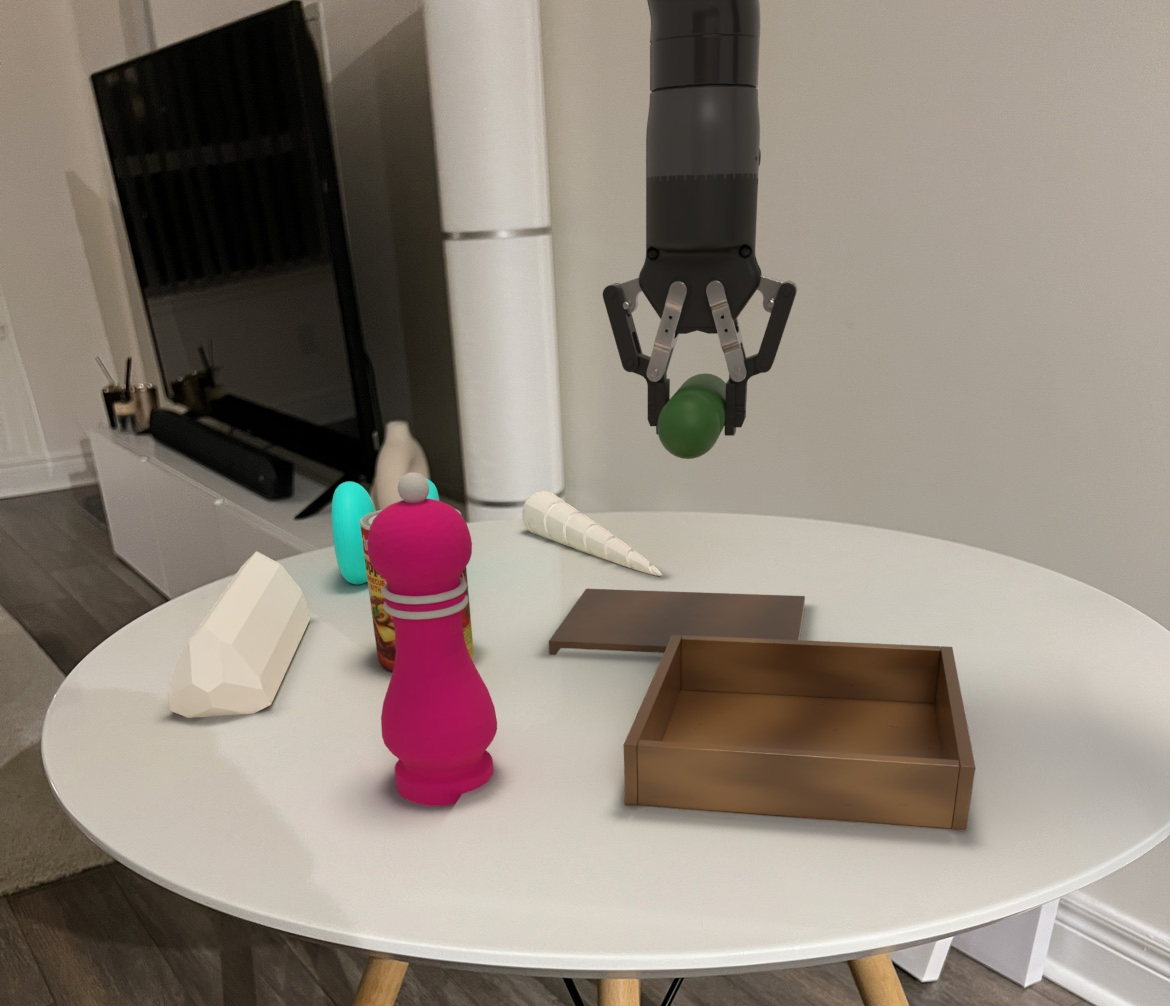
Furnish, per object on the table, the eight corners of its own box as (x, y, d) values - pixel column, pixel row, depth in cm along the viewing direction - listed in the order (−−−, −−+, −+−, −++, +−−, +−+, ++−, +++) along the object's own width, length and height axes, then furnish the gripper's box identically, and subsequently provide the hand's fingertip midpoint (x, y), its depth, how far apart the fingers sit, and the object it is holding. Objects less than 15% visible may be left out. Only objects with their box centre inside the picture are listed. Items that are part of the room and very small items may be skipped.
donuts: (442, 592, 107) (432, 489, 103) (339, 598, 107) (324, 495, 102) (447, 563, 116) (437, 467, 111) (351, 568, 116) (338, 472, 111)
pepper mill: (424, 755, 75) (388, 457, 66) (520, 769, 73) (497, 461, 63) (368, 804, 69) (321, 483, 60) (471, 821, 67) (438, 490, 58)
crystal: (284, 674, 79) (329, 575, 100) (186, 631, 77) (253, 540, 98) (247, 757, 82) (299, 644, 103) (152, 718, 80) (224, 611, 101)
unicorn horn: (629, 587, 106) (628, 538, 104) (520, 535, 125) (517, 493, 123) (670, 578, 108) (670, 530, 106) (557, 529, 127) (555, 487, 125)
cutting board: (804, 611, 98) (805, 595, 98) (795, 670, 86) (796, 652, 86) (586, 603, 103) (585, 588, 102) (549, 658, 91) (548, 641, 90)
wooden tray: (944, 712, 78) (952, 646, 76) (964, 845, 62) (975, 766, 60) (671, 697, 82) (671, 634, 80) (624, 818, 66) (623, 744, 64)
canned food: (358, 667, 90) (338, 522, 85) (424, 638, 96) (409, 500, 90) (428, 686, 86) (412, 534, 81) (493, 655, 92) (482, 511, 86)
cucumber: (678, 427, 88) (679, 369, 86) (733, 428, 88) (735, 369, 85) (652, 464, 76) (653, 398, 74) (716, 465, 75) (718, 398, 73)
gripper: (586, 173, 72) (592, 442, 80) (808, 165, 69) (792, 444, 77) (607, 174, 78) (611, 423, 86) (811, 167, 75) (796, 425, 83)
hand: (696, 432), depth 82 cm, fingers closed on cucumber, 4 cm apart
